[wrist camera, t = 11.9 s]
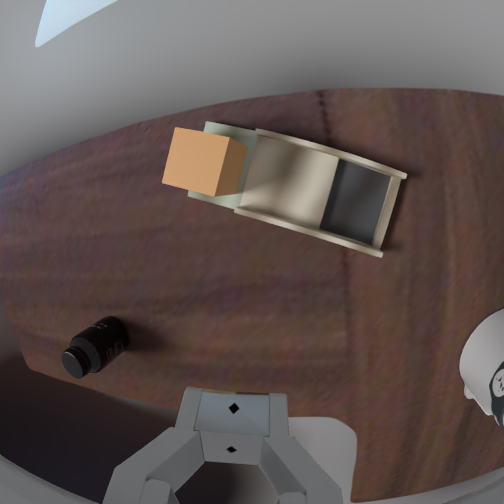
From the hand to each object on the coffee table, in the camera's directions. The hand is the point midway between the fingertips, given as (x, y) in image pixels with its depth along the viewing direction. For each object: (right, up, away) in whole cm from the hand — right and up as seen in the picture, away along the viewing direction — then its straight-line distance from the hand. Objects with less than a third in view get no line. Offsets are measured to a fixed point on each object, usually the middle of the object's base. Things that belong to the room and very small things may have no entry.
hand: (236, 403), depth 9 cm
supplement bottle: (-24, -10, +40) cm, 47 cm away
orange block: (-4, +15, +28) cm, 32 cm away
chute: (+6, +13, +28) cm, 32 cm away
